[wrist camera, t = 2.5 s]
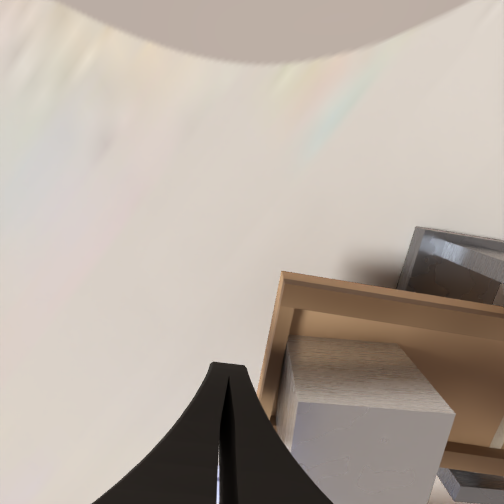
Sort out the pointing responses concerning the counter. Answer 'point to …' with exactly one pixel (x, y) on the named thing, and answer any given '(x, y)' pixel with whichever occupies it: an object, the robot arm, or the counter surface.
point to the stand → (463, 288)
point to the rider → (361, 420)
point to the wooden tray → (406, 352)
